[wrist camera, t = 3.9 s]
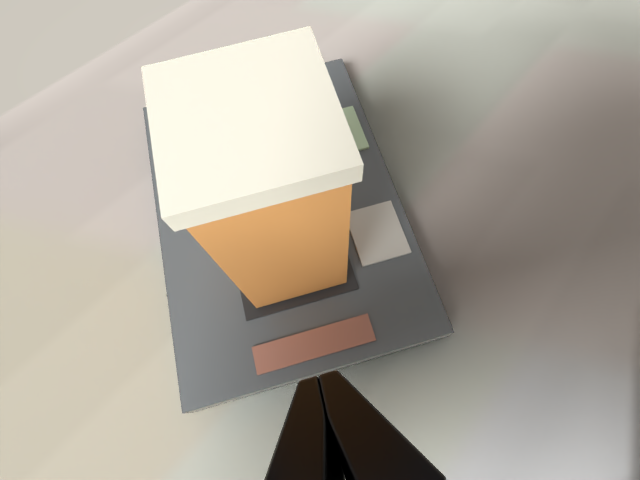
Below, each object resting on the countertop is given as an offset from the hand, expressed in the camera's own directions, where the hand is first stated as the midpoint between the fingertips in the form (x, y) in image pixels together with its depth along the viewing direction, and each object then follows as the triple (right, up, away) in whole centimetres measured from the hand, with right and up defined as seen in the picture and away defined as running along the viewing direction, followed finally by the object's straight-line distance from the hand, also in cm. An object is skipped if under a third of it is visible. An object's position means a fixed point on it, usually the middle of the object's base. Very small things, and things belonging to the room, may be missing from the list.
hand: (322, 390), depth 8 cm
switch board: (-2, +4, +9) cm, 10 cm away
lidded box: (-1, +3, +7) cm, 8 cm away
